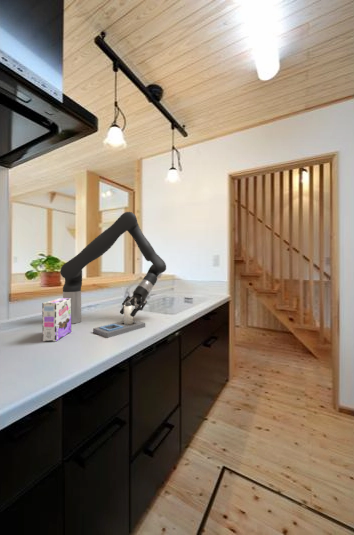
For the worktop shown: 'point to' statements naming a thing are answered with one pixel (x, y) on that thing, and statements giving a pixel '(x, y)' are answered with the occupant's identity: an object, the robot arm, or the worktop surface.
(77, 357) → the worktop surface
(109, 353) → the worktop surface
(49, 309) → the candy box
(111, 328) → the grey socket board
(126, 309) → the cream upright block
